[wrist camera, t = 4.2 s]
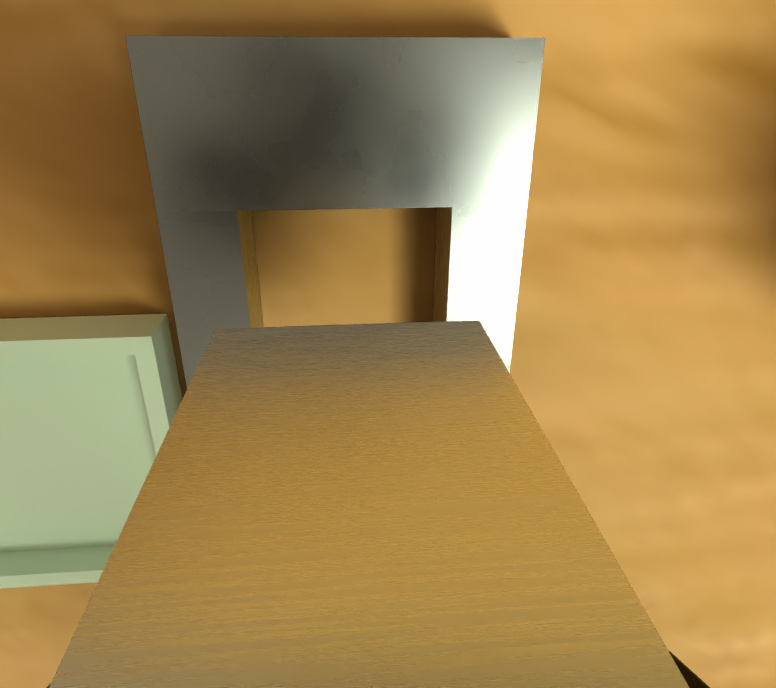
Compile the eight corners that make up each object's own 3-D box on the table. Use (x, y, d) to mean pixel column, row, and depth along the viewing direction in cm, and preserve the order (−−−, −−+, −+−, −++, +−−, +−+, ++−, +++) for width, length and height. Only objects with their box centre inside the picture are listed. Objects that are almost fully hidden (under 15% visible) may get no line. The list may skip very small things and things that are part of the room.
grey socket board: (463, 651, 28) (474, 702, 25) (252, 667, 27) (245, 722, 25) (516, 42, 16) (545, 38, 14) (155, 40, 16) (125, 35, 13)
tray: (207, 540, 23) (198, 575, 22) (-51, 555, 23) (-81, 593, 21) (166, 313, 19) (151, 336, 17) (-156, 323, 18) (-204, 348, 17)
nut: (464, 519, 12) (669, 1239, 5) (244, 531, 12) (87, 1329, 4) (479, 320, 10) (880, 1019, 3) (215, 328, 10) (-169, 1159, 2)
